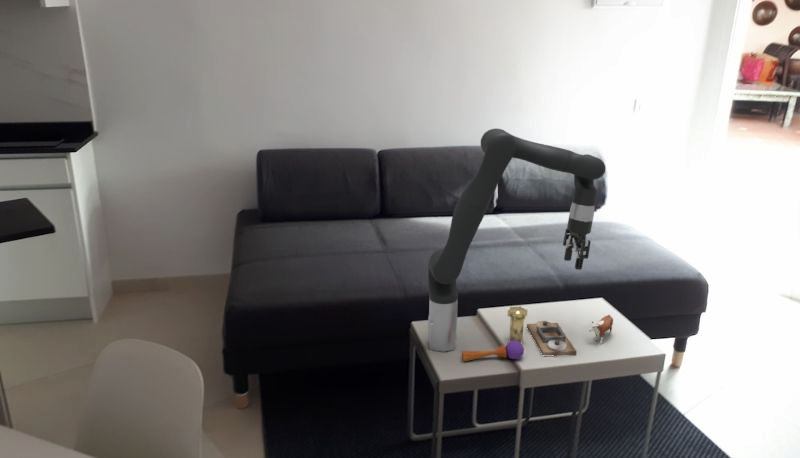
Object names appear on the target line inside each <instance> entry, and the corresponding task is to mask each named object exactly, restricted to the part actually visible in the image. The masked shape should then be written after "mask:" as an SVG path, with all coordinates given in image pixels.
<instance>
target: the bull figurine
mask: <svg viewBox="0 0 800 458" xmlns="http://www.w3.org/2000/svg"><path fill="white" fill-rule="evenodd" d="M613 325H614V318H613V317H612V316H611V314H608V315H605V316H603V317H602V318H601V319H600V320H598V321H591V324H590V327H588V331H589V332H593V333H595V338H594V341H598V340H599V343H598V344H599V345H602V344H603V339H604V336H605V333H606V332H608V331H609V333H608V336H609V337H610V336H612V330H613ZM599 337H600V339H599Z"/></svg>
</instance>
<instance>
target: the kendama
mask: <svg viewBox="0 0 800 458" xmlns="http://www.w3.org/2000/svg"><path fill="white" fill-rule="evenodd" d="M524 352H525V348H524V346H523V343H522V344H521V343H520V342H518V341H515V340H514V341H510V342H509V341H508V342H507V343H506V345H505V344H502V345H500V346H498V347H497V348H496V349H494V350H475V351H474V350H472V351H471V350H469V351H467V350H466V351H461V359H462V361H463V363H464V362H468V361H469V362H470V361H472V360H477V359H480V358H485V357H489V356H494V355H495V356H498V357H502V358H504V359H506V358H507V357H508V358H509V359H511V360H514V359H515V360H519V359H520V358H522V356H523V355H524ZM518 358H519V359H518Z"/></svg>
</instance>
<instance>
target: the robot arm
mask: <svg viewBox="0 0 800 458" xmlns="http://www.w3.org/2000/svg"><path fill="white" fill-rule="evenodd" d="M480 147H481V151H482V152H483V153H484V156H483V158H482V161H481V164H480V166H479V168H478V171H477V172H476V174H475V175H474V177H473V178H472V179H471V180H470V181H469V183H468V184H467V185H466V186H465V188H464V189H463V191H462V192H461V194H460V196H459V199H458V201H457V202H456V205H455V207H454V210H453V213H452V217H451V222H450V227H449V234H448V237H447V241H446V244H445V246H444V248H440V249H438V250H435V251H434V252H433V253H432V254H431V255H430V257H429V260H428V268H427V269H428V270H427V271H428V273H427V274H428V275H427V276H428V280H427V281H428V292H429V294H428V295H429V299H428V300H429V304H428V305H429V307H428V308H429V311H428V312H429V313H428V317H427V318H428V320H427V321H428V322H427V323H428V324H427V343H428V347H429V350H433V351H437V352H450V351H452V350H454V349H456V347H457V340H458V339H457V330H458V329H457V328H458V295H459V294H458V293H459V291H458V286H457V279H458V278H459V277H460V274H461V272H462V269H463V266H464V262H465V259H466V257H467V253H468V251H469V249H470V246H471V244H472V242H473V241H474V238H475V236H476V233H477V232H478V229H479V227H480V225H481V223H482V221H483V219H484V217H485V215H486V212H487V210H488V208H489V205H490V203H491V200H492V198H493V196H494V193H495V191H496V189H497V187H498V184H499V182H500V180H501V179H502V177H503V174H504V173H505V171H506V170H507V167H508V165H509V164H510V162H511V160H512V159H513V158H514V159H518V160H522V161H524V162H525V161H526V162H527V163H531V164H533V165H536V166H539V167H542V168H545V169H548V170H549V169H550V170H553V171H556V172H561V173H567V174H571V175H573V176H574V177H573V179H574V180H573V181H574V191H573V197H572V202H571V205H570V209H569V215H568V220H567V221H568V222H567V226H566V229H565V233H564V237H563V240H562V241H563V242H562V246H564V250H565V251H564V257H563V259H564V261H565V262H566V261H567V262H570V261H571V260H572V255H573V249H574V252H575V253H576V254H575V255H576V259H575V264H574V269H575V270H582V269H583V266H584V265H583V264H584V260H585V259H589V254H590V248H591V240H590V239H587V237H586V236H587V235H589V234H591V232H592V228H593V227H592V226H593V221H594V216H595V208H596V207H595V206H596V199H597V194H598V190H597V188H596V185H595V184H594V181H595V180H599V179H601V178H602V177H603V176H604V174H605V173H606V164H605V163H604V161H603V160H602V159H601V158H599V157H596V156H594V155H591V154H588V153H587V154H582V153H581V154H579V153H576V152H574V151H572V150H569V149H566V148H561V147H557V146H552V145H548V144H543V143H539V142H535V141H534V142H533V141H530V140H527V139H524V138H521V137H519V136H515V135H513V134H511V133H509V132H508V131H506V130H504V129H502V128H491V129H489V130H486V131H485V132H484V133H483V135H482V136H481V139H480Z"/></svg>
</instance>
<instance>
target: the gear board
mask: <svg viewBox="0 0 800 458" xmlns="http://www.w3.org/2000/svg"><path fill="white" fill-rule="evenodd" d="M527 328H528V329H527ZM526 329H527V330H529V331H530V333H531V334H530V333H529V334H530V336H531V335H532V336H531V338H532V337H533V338H532V339H534V340H535V342H536V343H535V342H534V343H535V345H536V344H537V345H536V347H537V346H538V347H537V348H539V349H540V350H539V349H538V350H539V352H540V351H541V352H540V354H541V353H542V354H541V356H542V355H554V356H553V357H558V356H557V355H569V356H577V350H576V348H575V347H574V345H573V344H572V342H571V341H570V339H569V338H568V336H567V334H566V333H565V332H564V330H563V329H562V327H561V326H560V325H559V323H558V322H550V321H547V320H540V321H537V322H536V323H526ZM529 331H528V332H529ZM534 340H533V341H534Z"/></svg>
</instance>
